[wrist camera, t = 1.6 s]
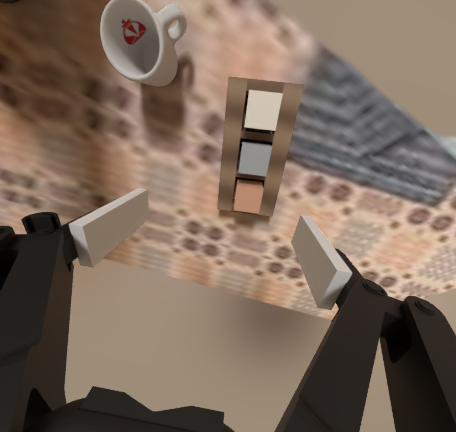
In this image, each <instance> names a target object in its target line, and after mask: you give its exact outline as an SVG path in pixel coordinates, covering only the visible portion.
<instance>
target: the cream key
mask: <svg viewBox="0 0 456 432" xmlns="http://www.w3.org/2000/svg"><path fill="white" fill-rule="evenodd" d="M282 95H283V93H275V92H266V91H256V90H249V96H248V103H247V111H246V119H245V126H244V127H245V128H252V129H261V130H269V131H275V130H276V125H277V120H278V115H279V110H280V105H281V100H282Z"/></svg>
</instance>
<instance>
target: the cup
mask: <svg viewBox="0 0 456 432" xmlns="http://www.w3.org/2000/svg"><path fill="white" fill-rule="evenodd" d="M175 20H178V22H177V24H176V25H175V26H174V27H173V28H171V29H169V27H170V25H171V24H172V22H174V21H175ZM186 27H187V22H186V18H185V16H184V14H183V12H182V10H181V8H180V7H179V6H178V5H176V4H169V5H167V6H165V7H164V8H163V9H162V10H161V11H159V12H158V13H154V12H153V11H152V10H151V8H150V7H149V6H148V5H147V4H146V3H144V2H143V1H142V0H111V1H110V2H109V3H108V4H107V5H106V7H105V9H104V11H103V14H102V17H101V23H100V35H101V42H102V45H103V49H104V51H105V54H106V56H107V58H108V60H109V61H110V63H111V64H112V66H113V67H114V68H115V69H116V71H117V72H119V73H120V74H121V75H122V76H124V77H125V78H127V79H129V80H131V81H135V82H139V83H143V84H148V85H152V86H157V87H161V86H166V85H168V84H169V83H171V82H172V80H173V79H174V77H175V75H176V73H177V68H178V60H177V55H176V51H175V48H174V44H175V43H176V42H177V41H178V40H179V39H180V38H181V37H182V36H183V34H184V33H185V31H186Z"/></svg>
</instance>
